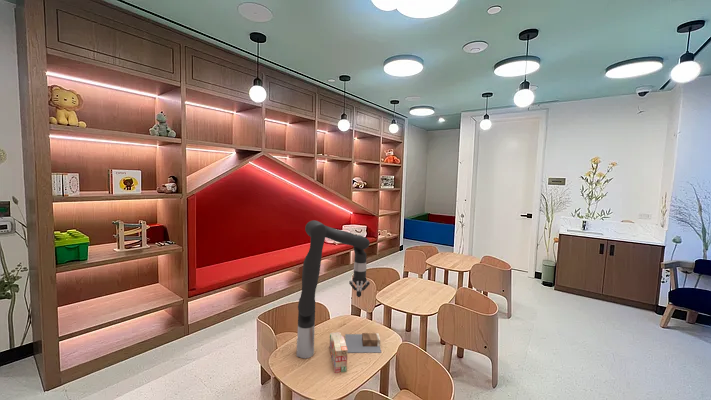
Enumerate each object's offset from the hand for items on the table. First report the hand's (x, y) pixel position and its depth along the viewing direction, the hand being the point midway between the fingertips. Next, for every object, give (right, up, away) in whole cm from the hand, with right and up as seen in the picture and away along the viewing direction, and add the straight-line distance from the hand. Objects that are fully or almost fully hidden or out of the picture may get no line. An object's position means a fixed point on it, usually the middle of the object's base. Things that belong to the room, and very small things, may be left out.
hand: (358, 296), depth 175 cm
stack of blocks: (-12, -29, -17) cm, 35 cm away
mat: (+2, -28, -2) cm, 28 cm away
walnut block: (+2, -25, -2) cm, 25 cm away
